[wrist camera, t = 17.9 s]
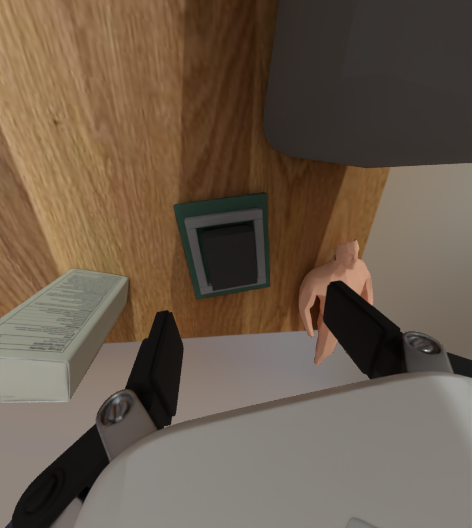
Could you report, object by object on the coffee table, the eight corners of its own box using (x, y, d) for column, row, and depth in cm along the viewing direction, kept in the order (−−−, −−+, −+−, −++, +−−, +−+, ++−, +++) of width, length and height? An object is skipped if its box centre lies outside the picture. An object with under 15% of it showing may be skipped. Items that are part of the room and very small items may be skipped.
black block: (202, 229, 21) (202, 238, 18) (246, 222, 22) (253, 230, 18) (211, 276, 24) (212, 291, 21) (250, 269, 24) (257, 283, 21)
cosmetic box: (73, 297, 23) (-43, 404, 12) (72, 265, 22) (-63, 355, 11) (129, 305, 25) (69, 405, 14) (131, 275, 23) (66, 363, 12)
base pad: (174, 204, 21) (171, 207, 19) (264, 192, 21) (270, 193, 20) (196, 295, 26) (196, 305, 24) (268, 283, 27) (273, 291, 25)
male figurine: (313, 381, 32) (307, 261, 19) (299, 355, 36) (287, 240, 23) (372, 362, 32) (409, 230, 19) (352, 338, 37) (371, 215, 23)
